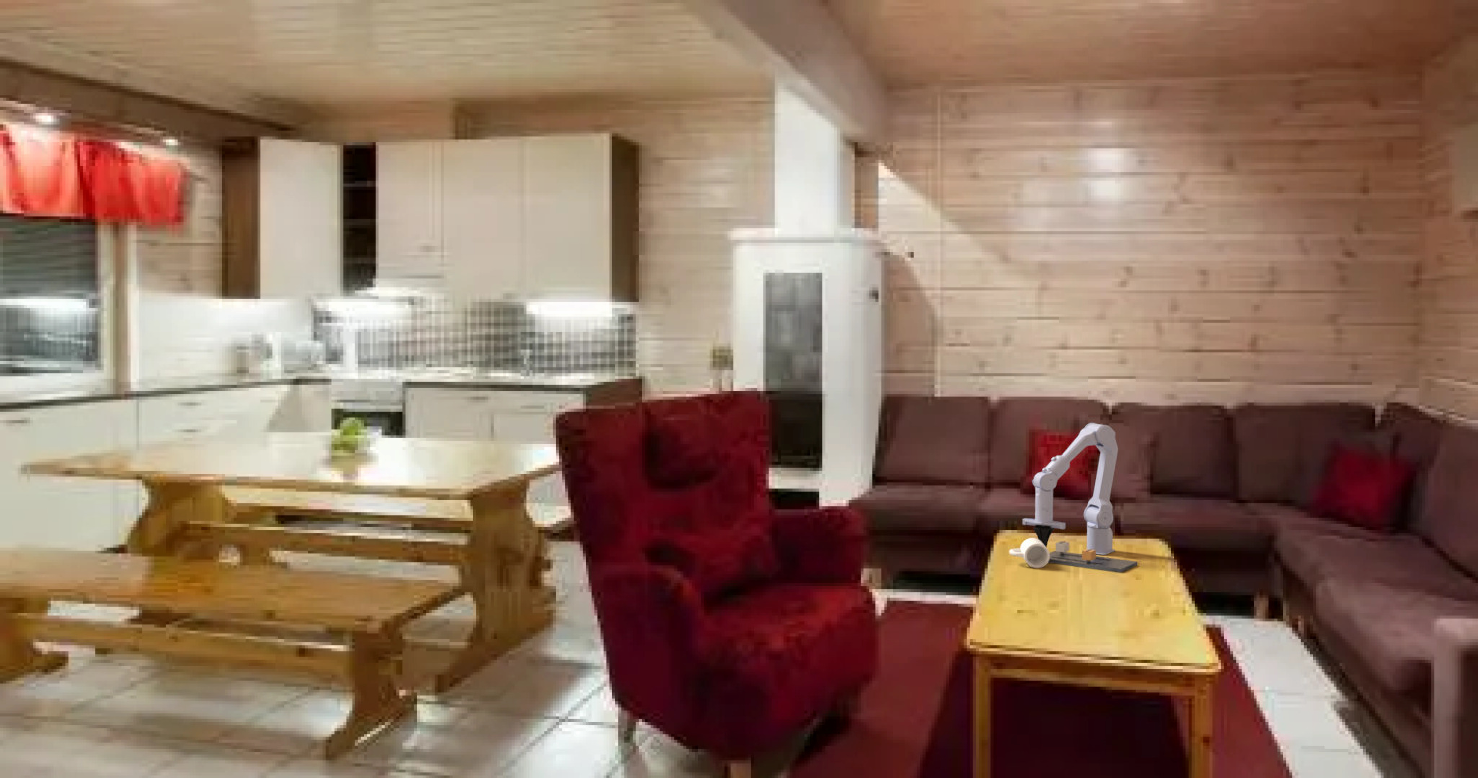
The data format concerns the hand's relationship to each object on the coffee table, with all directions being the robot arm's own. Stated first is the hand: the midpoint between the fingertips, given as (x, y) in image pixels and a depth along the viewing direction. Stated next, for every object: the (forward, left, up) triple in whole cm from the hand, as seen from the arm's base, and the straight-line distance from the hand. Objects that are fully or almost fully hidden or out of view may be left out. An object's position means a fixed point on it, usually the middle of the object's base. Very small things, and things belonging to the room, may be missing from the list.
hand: (1043, 547), depth 385 cm
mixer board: (+4, +17, -2) cm, 17 cm away
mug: (+18, +3, -3) cm, 18 cm away
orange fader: (+7, +19, -1) cm, 20 cm away
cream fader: (0, +7, -1) cm, 7 cm away
